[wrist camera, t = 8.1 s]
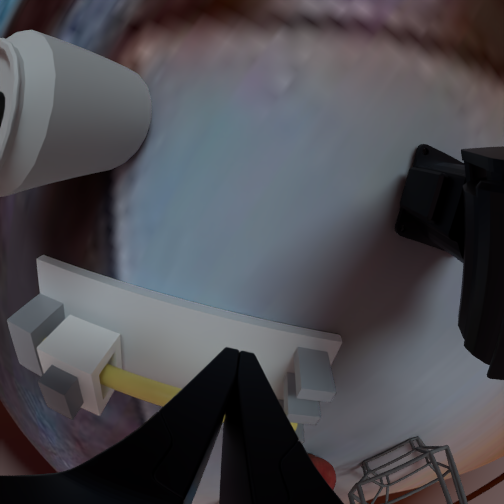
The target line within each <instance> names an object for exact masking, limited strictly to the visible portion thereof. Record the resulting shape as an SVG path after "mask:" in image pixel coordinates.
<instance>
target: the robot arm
mask: <svg viewBox="0 0 504 504" xmlns="http://www.w3.org/2000/svg"><path fill="white" fill-rule="evenodd" d="M424 148H425V150H426V154H425V155H424V154H423V149H424ZM461 154H462V160H463V161H464V163H462V162H460V161H458V160H457V159H455V158H453V157H451V156H449V155H447V154H445V153H443V152H441V151H439V150H437V149H435V148H433V147H431V146H429V145H426V144H421V145H419V146H418V148H417V151H416V155H415V159H414V163H413V167H412V168H411V169H410V170H409V173H408V177H407V181H406V184H405V188H404V191H403V194H402V198H401V201H400V205H401V209H400V212H399V215H398V218H397V221H396V224H395V231H396V233H397V234H399V235H400V236H403V237H406V238H409V239H412V240H415V241H418V242H421V243H424V244H427V245H430V246H433V247H436V248H438V249H441V250H444V251H447V252H448V253H450V254H451V255H453V256H454V257H455V258H457V259H458V260H459V261H461V262H462V263H463V278H462V289H461V299H460V307H459V316H458V326H459V329H460V331H461V333H462V336H463V338H464V339H465V341H464V346H465V348H466V349H467V350H468V351H469V352H470V353H471V354H472V355H473V356H475V357H476V358H478V359H479V360H481V361H482V362H484V363H485V364H488V365H490V367H489V370H488V372H487V377H488V378H490V379H499V380H504V147H486V148H472V149H461ZM402 225H404V229H403V230H402V231H400V227H401V226H402ZM224 416H225V417H224ZM223 419H224V426H223V443H222V461H221V480H220V500H219V504H344V503H343V502H342V501H341V500H340V498H339V497H338V496H337V495H336V493H335V492H334V491H333V490H332V488H331V487H330V486H329V485H328V483H327V482H326V481H325V479H324V478H323V477H322V475H321V474H320V472H319V471H318V470H317V468H316V467H315V465H314V464H313V462H312V460H311V459H310V457H309V455H308V454H307V452H306V450H305V449H304V447H303V445H302V443H301V441H298V440H299V438H298V436H297V434H296V432H295V431H294V429H293V427H292V425H291V423H290V421H289V419H288V418H287V416H286V414H285V412H284V410H283V408H282V406H281V404H280V402H279V401H278V399H277V397H276V395H275V393H274V391H273V389H272V387H271V385H270V383H269V381H268V379H267V377H266V375H265V373H264V371H263V369H262V367H261V365H260V364H259V362H258V360H257V358H256V356H255V354H254V353H251V352H247V351H240V353H239V350H238V349H234V348H229V347H225V348H224V349H223V350H222V351H221V352H220V353H219V354H218V355H217V356H216V357H215V358H214V359H213V360H212V361H211V362H210V363H209V364H208V365H207V366H206V367H205V368H203V369H202V370H201V371H200V372H199V373H198V374H197V375H196V376H195V377H194V378H193V379H192V380H191V381H190V382H189V383H188V384H187V385H186V386H185V387H184V388H183V389H181V390H180V391H179V392H178V393H177V394H176V395H175V396H174V397H173V398H172V399H171V400H170V401H169V402H168V403H166V404H165V405H164V406H163V407H162V408H161V409H160V410H159V412H156V413H155V414H154V415H153V416H152V417H151V418H150V419H149V420H148V421H146V422H145V423H144V424H143V425H142V426H140V427H139V428H138V429H137V430H135V431H134V432H133V433H131V434H130V435H128V436H127V437H125V438H124V439H122V440H121V441H119V442H118V443H116V444H115V445H113V446H111V447H110V448H108V449H106V450H105V451H103V452H101V453H100V454H98V455H96V456H95V457H93V458H91V459H90V460H88V461H86V462H84V463H83V464H81V465H79V466H77V467H75V468H72V469H70V470H67V471H63V472H59V473H52V474H40V475H20V476H0V504H191V503H192V501H193V498H194V496H195V493H196V491H197V488H198V486H199V483H200V481H201V478H202V476H203V473H204V470H205V468H206V465H207V463H208V460H209V457H210V455H211V452H212V449H213V447H214V444H215V441H216V439H217V436H218V433H219V431H220V428H221V425H222V422H223Z"/></svg>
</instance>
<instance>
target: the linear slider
mask: <svg viewBox="0 0 504 504" xmlns="http://www.w3.org/2000/svg"><path fill="white" fill-rule="evenodd" d="M37 270H38V280H39V288H40V294H39V295H37V296H36V297H35V298H33V299H32V300H31V301H30V302H28V303H27V304H26V305H25V306H23V307H22V308H21V309H20V310H18V311H17V312H16V313H15V314H14V315H12V316H11V317H10V318H9V319H7V322H8V326H9V330H10V334H11V337H12V341H13V344H14V347H15V350H16V354H17V357H18V360H19V363H20V364H21V365H23V366H24V367H26V368H28V369H29V370H31V371H33V372H34V373H36V374H38V375H40V376H41V377H42V376H43V374H44V373H43V369H42V366H41V363H40V359H39V356H38V352H37V347H38V346H39V345H40V344H41V343H42V342H43V341H44V340H45V339H46V338H47V337H48V336H49V335H50V334H51V333H52V332H53V331H54V330H55V329H56V328H57V327H58V326H59V325H60V324H61V323H62V322H63V321H64V320H65V319H66V318H67V317H68V316H69V315H73V316H75V317H77V318H80V319H82V320H85V321H87V322H90V323H92V324H95V325H98V326H100V327H103V328H106V329H108V330H111V331H114V332H116V333H119V334H120V337H121V360H122V369H120V368H118V367H115V366H112V365H110V364H106V365H105V367H104V368H103V370H102V371H101V373H100V374H99V379H100V384H102V385H104V386H107V387H109V388H112V389H114V390H117V391H119V392H122V393H125V394H127V395H130V396H133V397H135V398H138V399H141V400H144V401H147V402H150V403H153V404H156V405H159V406H162V407H163V406H164V405H165V404H166V403H168V402H169V401H170V400H171V399H172V398H173V397H174V396H175V395H176V394H177V393H178V392H179V391H180V390H181V389H183V388H184V387H185V386H186V385H187V384H188V383H189V382H190V381H191V380H192V379H193V378H194V377H195V376H196V375H197V374H198V373H199V372H200V371H201V370H202V369H203V368H205V367H206V366H207V365H208V364H209V363H210V362H211V361H212V360H213V359H214V358H215V357H216V356H217V355H218V354H219V353H220V352H221V351H222V350H223V349H224V348H225V347H229V348H234V349H238V350H239V353H240V351H247V352H251V353H254V354H255V356H256V358H257V360H258V362H259V364H260V365H261V367H262V369H263V371H264V373H265V375H266V377H267V379H268V381H269V383H270V385H271V387H272V389H273V391H274V393H275V395H276V397H277V399H278V401H279V402H280V404H281V406H282V408H283V410H284V412H285V414H286V416H287V418H288V419H289V421H290V423H291V425H292V427H293V429H294V431H295V432H296V434H297V436H298V438H299V440H298V441H301V443H302V444H303V443H304V429H303V424H310V425H316V424H317V423H318V421H319V420H320V418H321V413H320V406H319V401H322V402H331V401H332V399H333V398H334V396H335V394H336V388H335V384H334V379H333V374H332V370H331V364H332V362H333V360H334V358H335V356H336V354H337V352H338V350H339V348H340V346H341V344H342V339H341V336H340V335H339V334H333V333H328V332H323V331H317V330H312V329H307V328H302V327H297V326H292V325H288V324H283V323H278V322H274V321H269V320H265V319H260V318H256V317H252V316H247V315H243V314H239V313H235V312H231V311H227V310H223V309H219V308H215V307H211V306H207V305H203V304H199V303H195V302H192V301H188V300H184V299H180V298H177V297H173V296H170V295H166V294H163V293H159V292H156V291H152V290H149V289H145V288H142V287H139V286H135V285H132V284H129V283H125V282H122V281H119V280H116V279H113V278H110V277H106V276H103V275H100V274H97V273H94V272H91V271H88V270H85V269H82V268H79V267H76V266H73V265H71V264H68V263H65V262H62V261H59V260H56V259H54V258H51V257H48V256H45V255H42V256H40V257H39V258H37ZM224 417H225V416H224ZM223 423H224V419H223Z"/></svg>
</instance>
